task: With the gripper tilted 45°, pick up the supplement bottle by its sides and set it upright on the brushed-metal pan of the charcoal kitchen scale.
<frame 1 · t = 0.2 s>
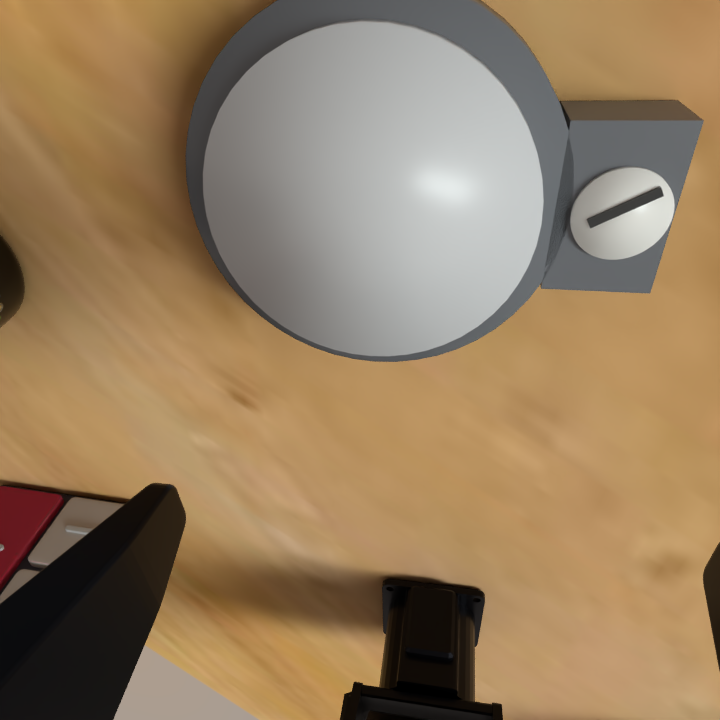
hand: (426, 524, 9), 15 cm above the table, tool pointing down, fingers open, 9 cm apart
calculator: (82, 505, 38), on the table
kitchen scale: (380, 182, 21), on the table
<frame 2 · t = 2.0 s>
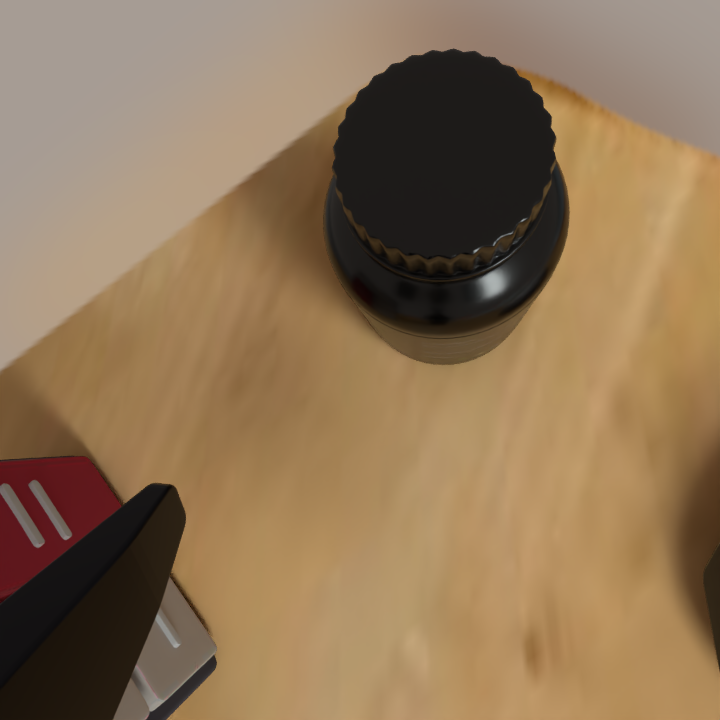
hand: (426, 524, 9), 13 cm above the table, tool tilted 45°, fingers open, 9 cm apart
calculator: (126, 573, 24), on the table
supplement bottle: (443, 290, 24), on the table
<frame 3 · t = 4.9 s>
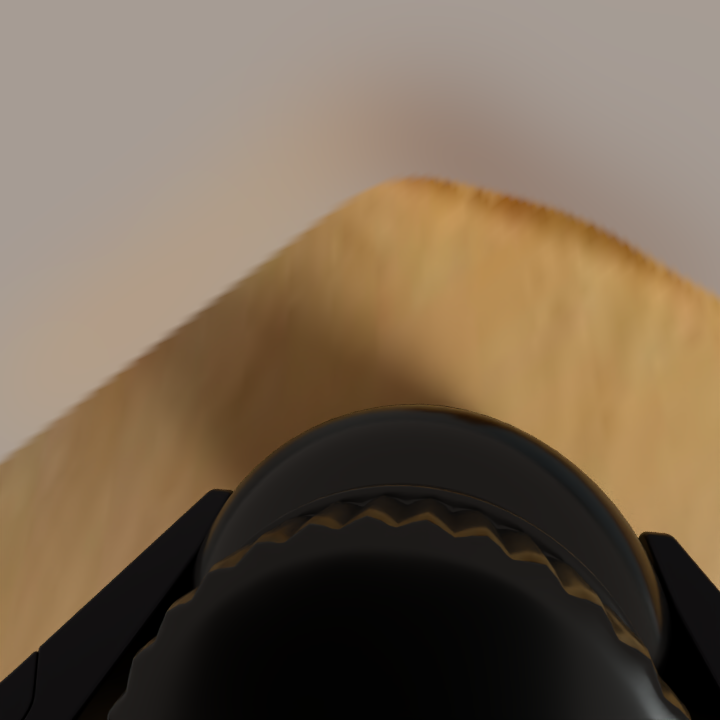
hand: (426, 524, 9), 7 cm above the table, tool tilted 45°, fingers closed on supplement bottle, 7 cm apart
supplement bottle: (430, 538, 16), on the table, touching gripper
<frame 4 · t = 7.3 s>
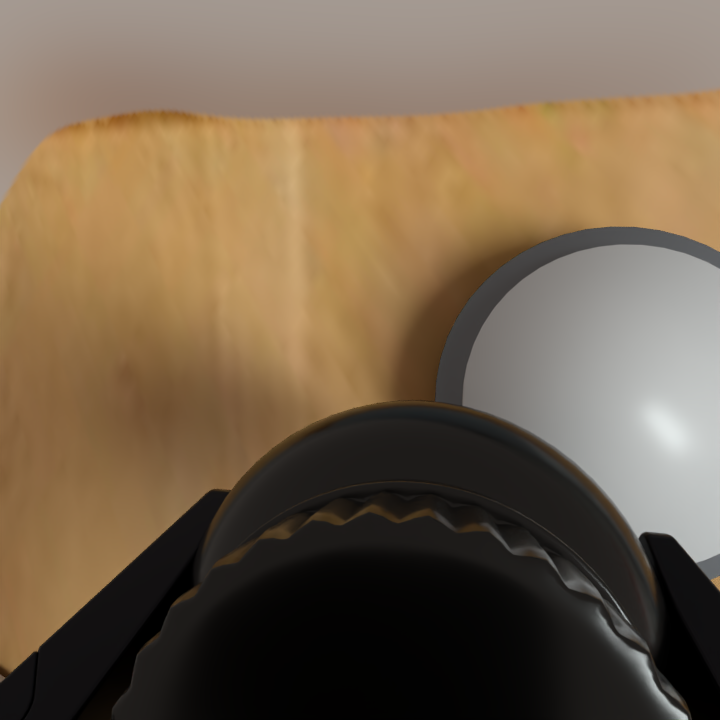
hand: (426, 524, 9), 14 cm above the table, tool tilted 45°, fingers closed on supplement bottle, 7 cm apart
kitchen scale: (600, 405, 22), on the table
supplement bottle: (427, 533, 16), point 7 cm above the table, touching gripper
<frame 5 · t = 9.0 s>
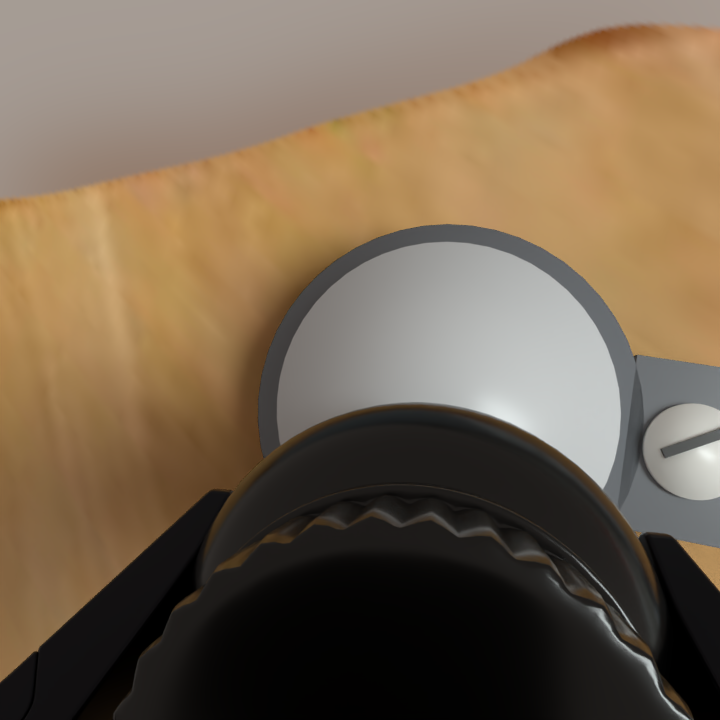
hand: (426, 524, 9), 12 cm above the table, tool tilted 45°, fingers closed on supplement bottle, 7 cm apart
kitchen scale: (441, 410, 21), on the table
supplement bottle: (427, 534, 16), point 5 cm above the table, touching gripper
when the fingers open (11 cm above the table, at t = 10.2 s): supplement bottle stays where it is, resting on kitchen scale.
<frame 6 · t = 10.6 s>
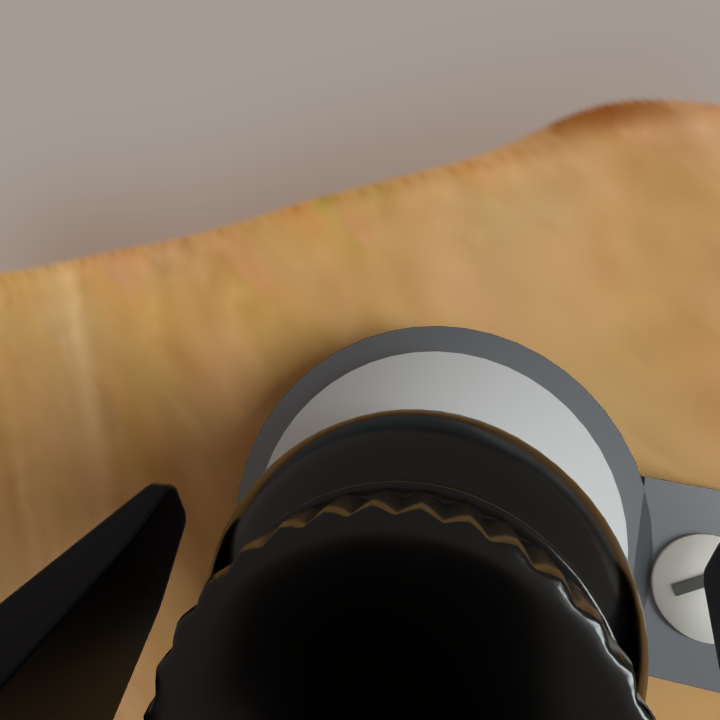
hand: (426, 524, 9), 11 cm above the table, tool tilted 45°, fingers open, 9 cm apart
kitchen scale: (434, 517, 20), on the table
supplement bottle: (429, 534, 17), point 3 cm above the table, touching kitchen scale
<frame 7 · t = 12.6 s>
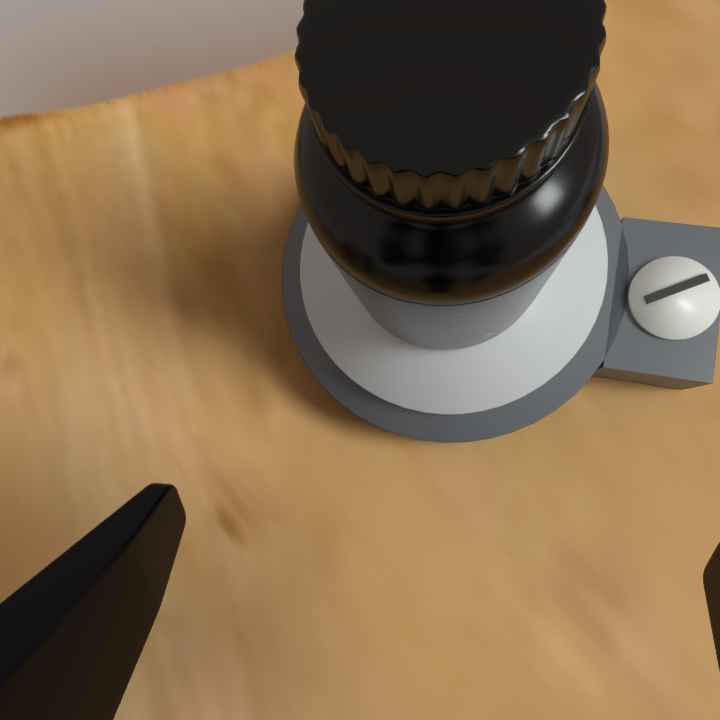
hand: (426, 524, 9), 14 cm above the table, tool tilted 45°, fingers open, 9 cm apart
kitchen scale: (447, 287, 24), on the table
supplement bottle: (445, 264, 20), point 3 cm above the table, touching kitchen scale
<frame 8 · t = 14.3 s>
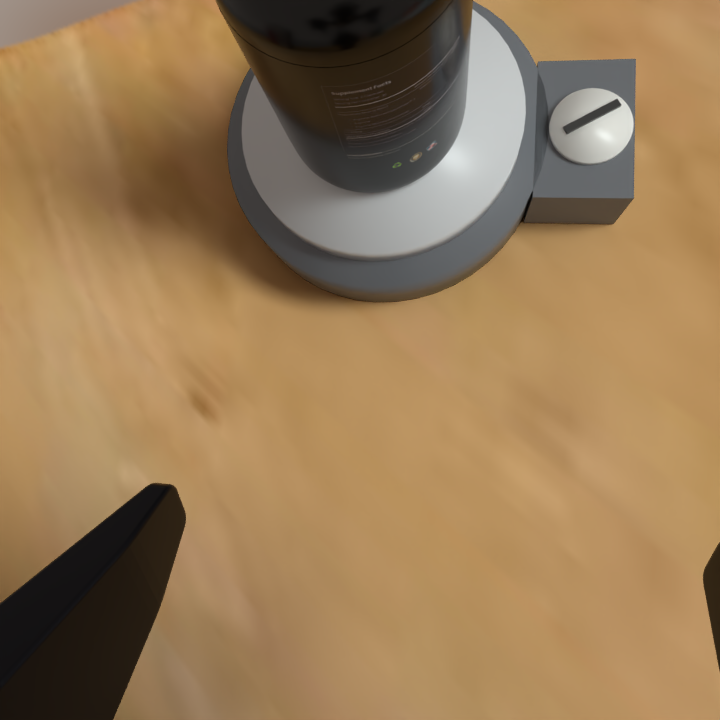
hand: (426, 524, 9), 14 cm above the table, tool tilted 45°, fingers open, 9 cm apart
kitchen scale: (387, 160, 25), on the table
supplement bottle: (376, 119, 22), point 3 cm above the table, touching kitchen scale
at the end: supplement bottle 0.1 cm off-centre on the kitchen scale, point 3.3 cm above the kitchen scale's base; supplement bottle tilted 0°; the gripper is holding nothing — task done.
